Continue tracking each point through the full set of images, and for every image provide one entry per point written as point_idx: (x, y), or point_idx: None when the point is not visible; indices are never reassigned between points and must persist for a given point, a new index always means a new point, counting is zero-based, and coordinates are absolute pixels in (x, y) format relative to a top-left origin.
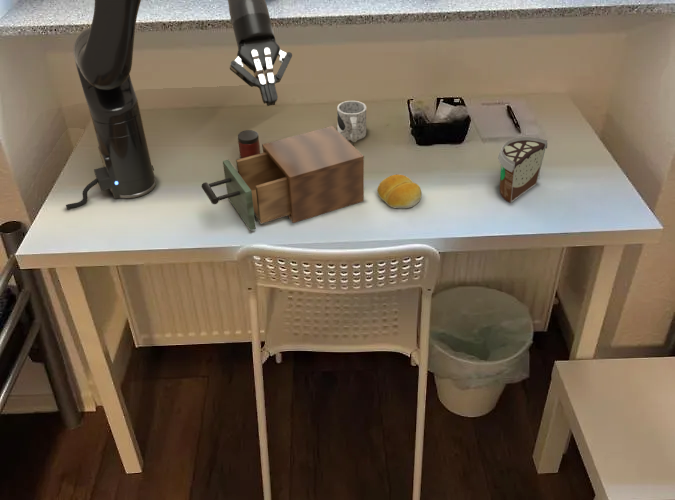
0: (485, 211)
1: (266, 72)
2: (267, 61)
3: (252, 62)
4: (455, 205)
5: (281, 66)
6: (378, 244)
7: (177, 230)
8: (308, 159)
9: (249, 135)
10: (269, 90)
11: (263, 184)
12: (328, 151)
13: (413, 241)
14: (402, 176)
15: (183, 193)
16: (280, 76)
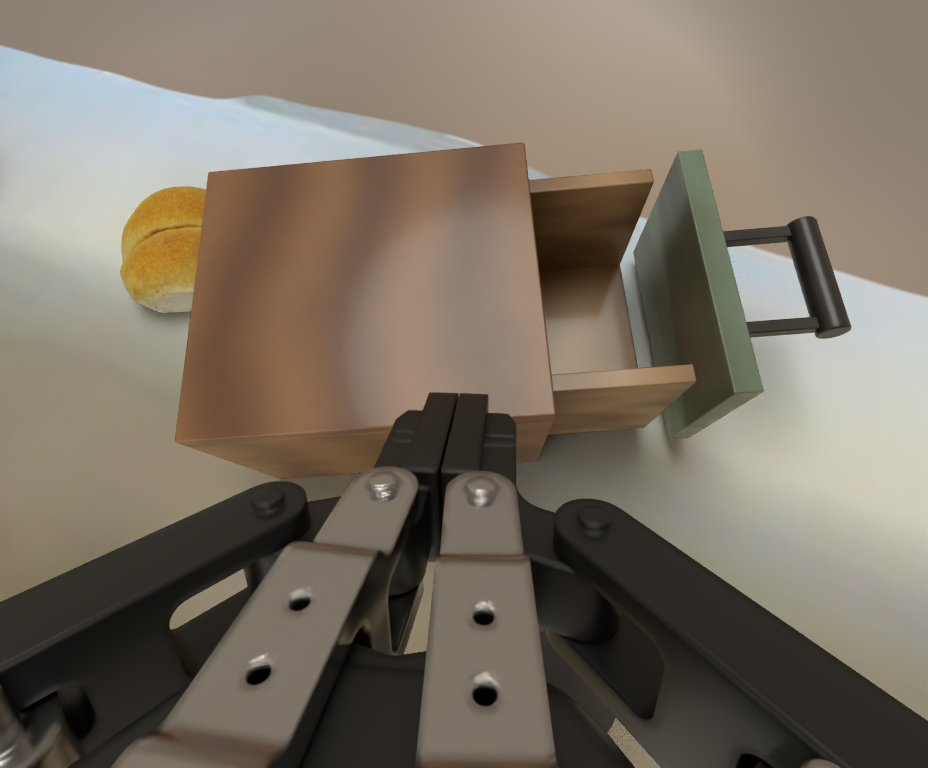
0: (59, 140)
1: (386, 597)
2: (296, 647)
3: (568, 761)
4: (99, 182)
5: (150, 582)
6: (353, 121)
7: (870, 356)
8: (408, 222)
9: (555, 679)
10: (446, 437)
11: (622, 177)
12: (307, 247)
13: (276, 105)
14: (135, 256)
15: (845, 565)
16: (263, 494)
